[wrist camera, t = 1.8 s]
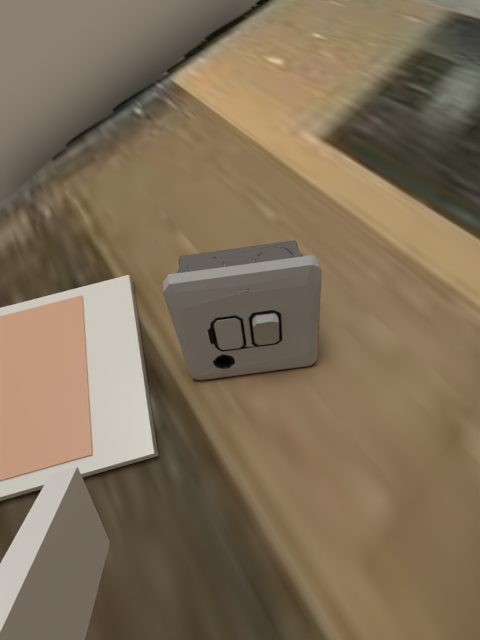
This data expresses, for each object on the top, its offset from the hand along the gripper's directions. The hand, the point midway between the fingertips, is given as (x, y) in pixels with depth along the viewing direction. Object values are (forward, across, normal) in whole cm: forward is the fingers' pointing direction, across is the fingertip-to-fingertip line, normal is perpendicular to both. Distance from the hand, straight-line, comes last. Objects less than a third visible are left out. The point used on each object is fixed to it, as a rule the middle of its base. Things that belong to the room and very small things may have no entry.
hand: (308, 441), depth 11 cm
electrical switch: (+18, 0, -3) cm, 19 cm away
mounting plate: (+19, -18, -2) cm, 26 cm away
